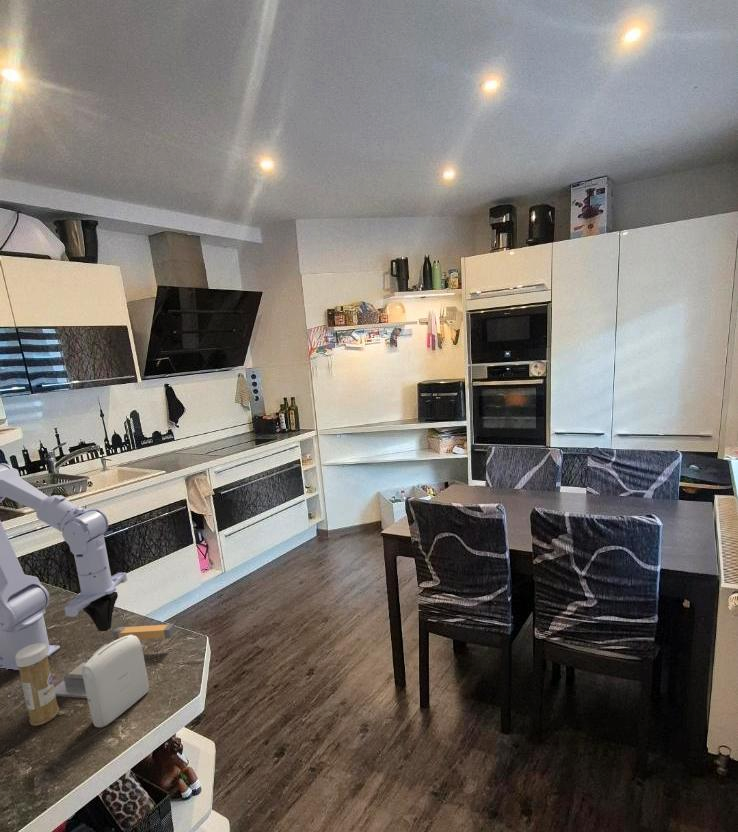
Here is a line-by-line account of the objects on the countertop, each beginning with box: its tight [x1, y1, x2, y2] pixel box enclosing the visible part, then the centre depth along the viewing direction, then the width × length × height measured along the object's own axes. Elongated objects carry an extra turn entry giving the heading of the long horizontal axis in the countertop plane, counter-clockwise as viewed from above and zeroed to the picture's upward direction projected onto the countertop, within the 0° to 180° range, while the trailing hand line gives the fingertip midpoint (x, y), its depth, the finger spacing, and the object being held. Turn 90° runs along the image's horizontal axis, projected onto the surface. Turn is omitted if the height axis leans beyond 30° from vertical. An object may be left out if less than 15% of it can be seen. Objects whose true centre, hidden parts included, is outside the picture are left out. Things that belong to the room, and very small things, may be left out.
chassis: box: [54, 642, 145, 699], centre depth 96 cm, size 10×16×3 cm, turn 168°
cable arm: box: [112, 622, 176, 641], centre depth 101 cm, size 13×2×2 cm, turn 87°
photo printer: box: [82, 635, 150, 728], centre depth 83 cm, size 10×4×12 cm, turn 154°
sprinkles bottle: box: [15, 643, 60, 727], centre depth 83 cm, size 5×5×13 cm
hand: (104, 629), depth 98 cm, fingers closed
